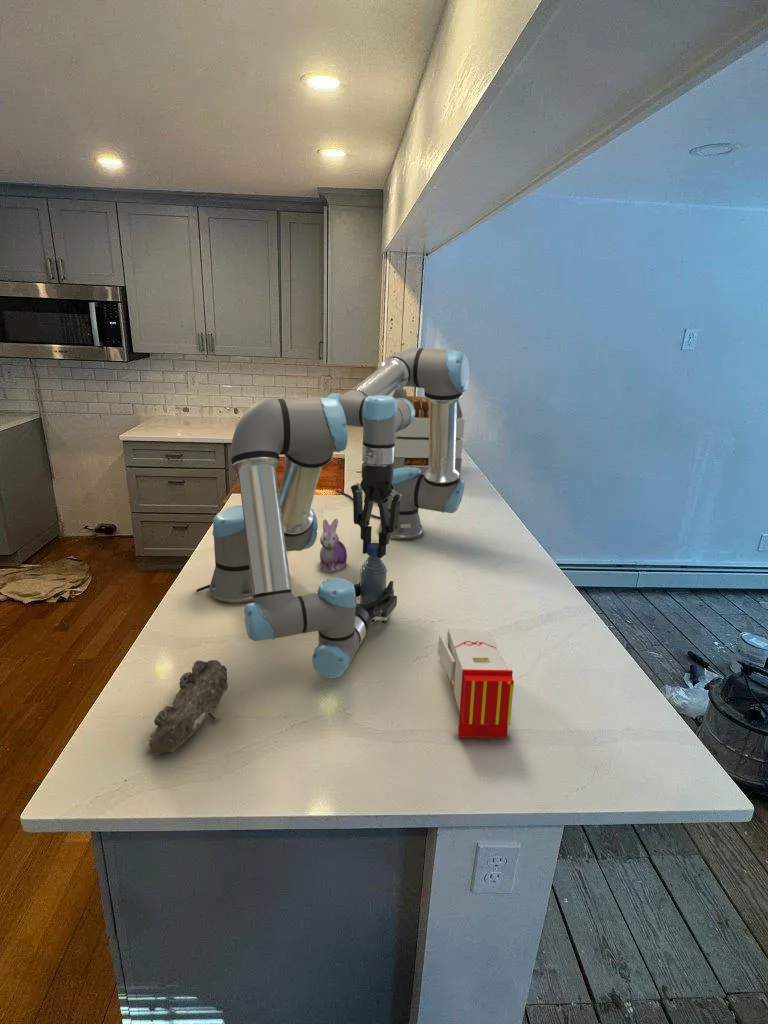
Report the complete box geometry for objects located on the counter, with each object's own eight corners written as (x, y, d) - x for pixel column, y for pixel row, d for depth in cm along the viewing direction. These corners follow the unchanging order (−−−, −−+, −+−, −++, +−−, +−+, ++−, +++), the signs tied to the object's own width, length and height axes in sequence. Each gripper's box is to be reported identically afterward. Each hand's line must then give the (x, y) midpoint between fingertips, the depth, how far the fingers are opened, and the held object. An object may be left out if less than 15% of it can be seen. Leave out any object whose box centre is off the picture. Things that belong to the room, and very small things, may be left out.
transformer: (382, 463, 289) (386, 382, 275) (445, 464, 293) (451, 384, 279) (390, 482, 257) (394, 392, 243) (460, 483, 261) (468, 394, 247)
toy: (488, 613, 130) (523, 677, 101) (484, 667, 133) (517, 744, 104) (435, 612, 130) (455, 676, 101) (432, 666, 133) (451, 743, 103)
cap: (384, 553, 142) (385, 545, 141) (376, 558, 139) (376, 549, 138) (372, 549, 144) (372, 541, 143) (363, 554, 141) (363, 545, 140)
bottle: (376, 623, 143) (379, 554, 136) (354, 615, 146) (356, 548, 139) (389, 612, 148) (392, 545, 142) (367, 605, 151) (369, 539, 145)
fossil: (177, 661, 117) (228, 629, 112) (210, 691, 120) (261, 661, 115) (124, 747, 97) (183, 713, 92) (164, 781, 100) (223, 749, 95)
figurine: (324, 575, 166) (325, 528, 161) (312, 561, 175) (312, 516, 170) (353, 570, 170) (355, 523, 165) (340, 557, 179) (341, 512, 174)
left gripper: (310, 634, 132) (342, 590, 153) (391, 649, 127) (413, 602, 148) (310, 605, 129) (342, 565, 150) (393, 620, 125) (415, 576, 146)
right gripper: (339, 460, 134) (337, 551, 142) (402, 472, 126) (396, 567, 134) (356, 454, 140) (353, 541, 148) (416, 465, 133) (411, 556, 141)
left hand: (377, 583), depth 149 cm, fingers closed on bottle, 7 cm apart
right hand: (374, 553), depth 141 cm, fingers closed on cap, 4 cm apart
